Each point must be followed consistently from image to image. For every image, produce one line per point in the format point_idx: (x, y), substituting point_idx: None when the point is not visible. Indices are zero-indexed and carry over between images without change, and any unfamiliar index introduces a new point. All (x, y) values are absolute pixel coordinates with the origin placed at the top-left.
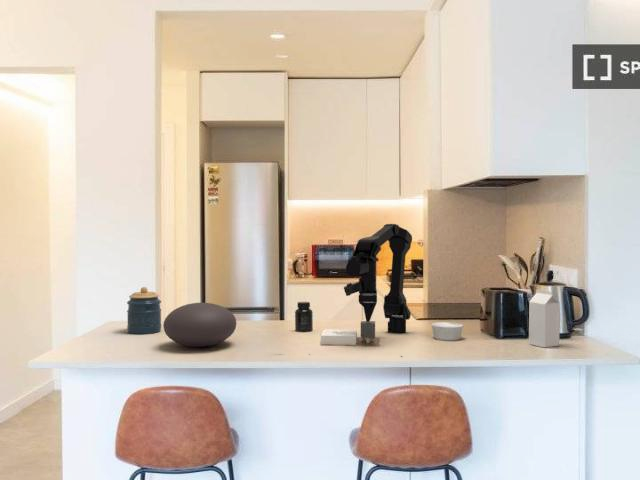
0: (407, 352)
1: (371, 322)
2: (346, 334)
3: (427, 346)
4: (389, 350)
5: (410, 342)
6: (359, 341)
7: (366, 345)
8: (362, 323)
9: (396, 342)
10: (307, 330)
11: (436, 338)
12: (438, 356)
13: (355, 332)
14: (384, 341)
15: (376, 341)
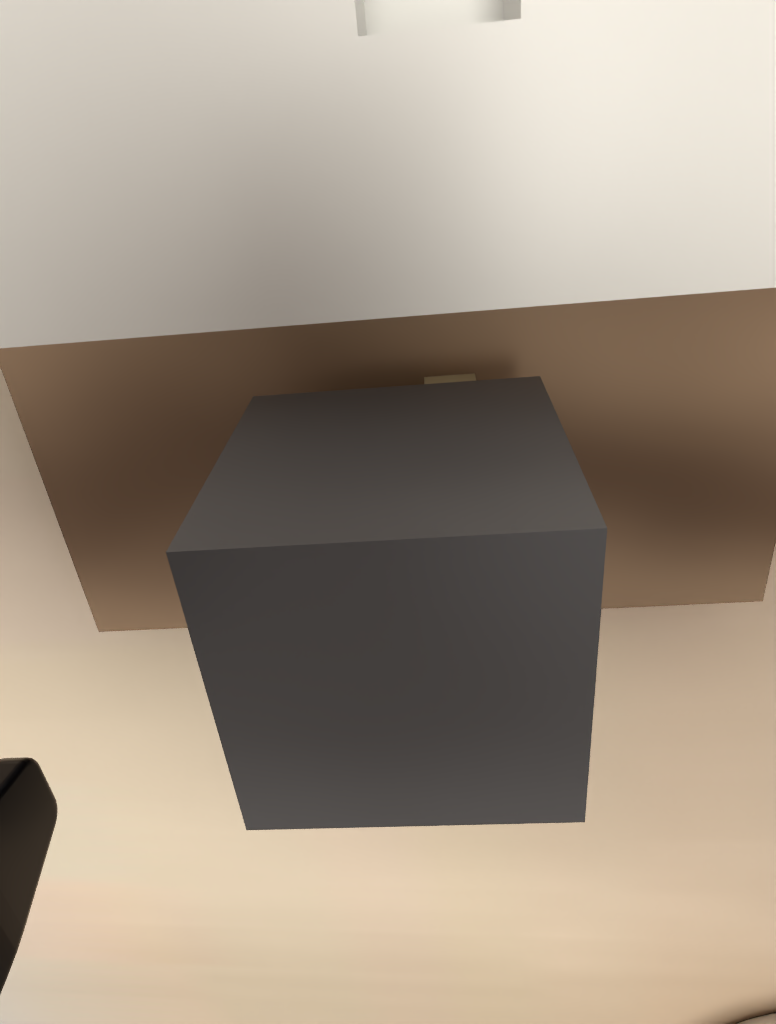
0: (79, 831)
1: (392, 767)
2: (112, 75)
3: (408, 952)
4: (106, 699)
5: (598, 857)
6: (397, 330)
7: (95, 471)
8: (180, 595)
9: (593, 752)
10: None
11: (766, 1020)
12: (27, 986)
13: (443, 286)
14: (660, 637)
15: None
